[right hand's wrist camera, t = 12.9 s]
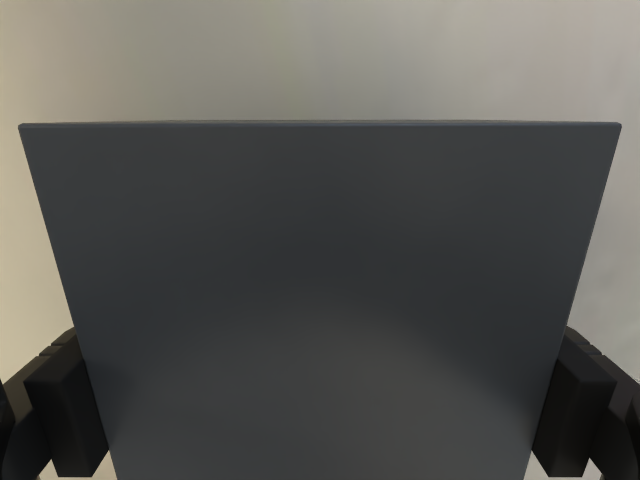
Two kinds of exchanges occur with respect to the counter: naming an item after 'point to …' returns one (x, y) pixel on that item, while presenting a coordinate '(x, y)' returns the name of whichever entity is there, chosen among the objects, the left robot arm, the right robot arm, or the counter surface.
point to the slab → (320, 288)
